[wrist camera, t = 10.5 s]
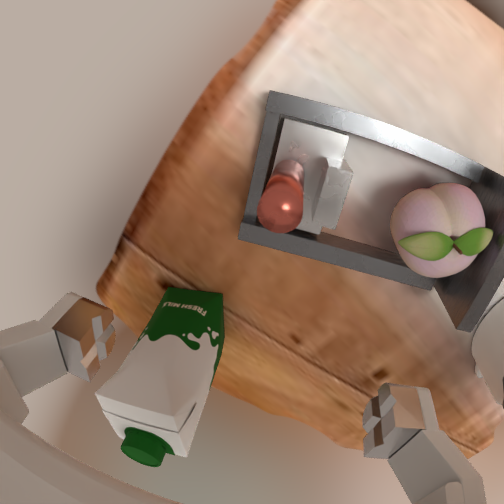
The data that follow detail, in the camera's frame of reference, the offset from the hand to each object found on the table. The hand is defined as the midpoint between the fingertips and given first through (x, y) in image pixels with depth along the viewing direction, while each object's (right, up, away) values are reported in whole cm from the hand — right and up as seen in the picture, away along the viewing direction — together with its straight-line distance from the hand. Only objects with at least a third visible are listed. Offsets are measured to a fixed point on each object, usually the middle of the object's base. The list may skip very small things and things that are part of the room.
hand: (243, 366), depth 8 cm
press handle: (+5, +10, +21) cm, 24 cm away
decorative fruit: (+18, +7, +21) cm, 28 cm away
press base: (+12, +9, +21) cm, 26 cm away
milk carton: (-7, -4, +31) cm, 32 cm away
